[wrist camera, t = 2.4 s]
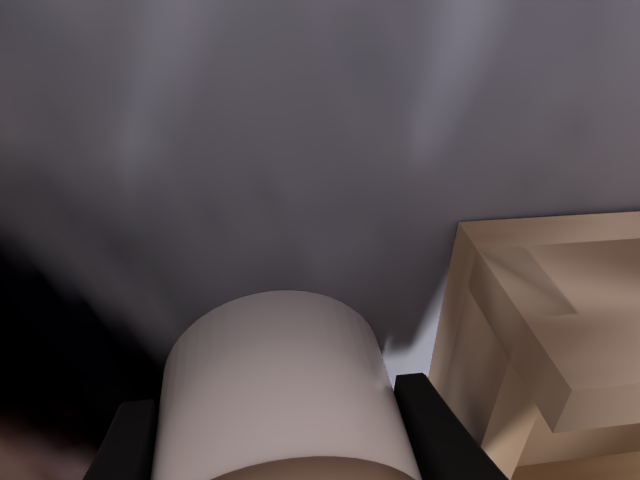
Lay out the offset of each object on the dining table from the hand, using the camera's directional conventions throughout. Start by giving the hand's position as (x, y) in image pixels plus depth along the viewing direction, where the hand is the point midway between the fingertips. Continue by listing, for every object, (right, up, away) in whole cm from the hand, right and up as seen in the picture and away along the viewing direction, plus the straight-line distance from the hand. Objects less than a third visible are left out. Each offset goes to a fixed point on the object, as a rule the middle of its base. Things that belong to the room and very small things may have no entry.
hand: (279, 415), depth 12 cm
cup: (0, +1, +1) cm, 1 cm away
